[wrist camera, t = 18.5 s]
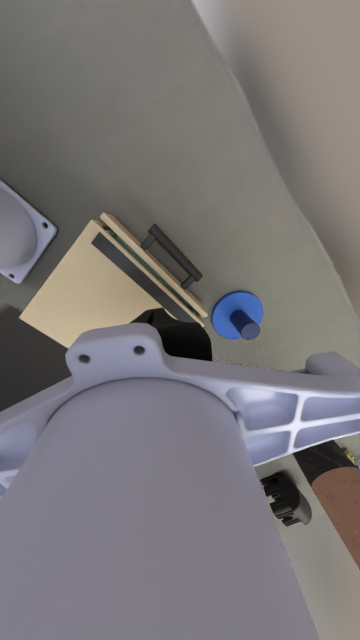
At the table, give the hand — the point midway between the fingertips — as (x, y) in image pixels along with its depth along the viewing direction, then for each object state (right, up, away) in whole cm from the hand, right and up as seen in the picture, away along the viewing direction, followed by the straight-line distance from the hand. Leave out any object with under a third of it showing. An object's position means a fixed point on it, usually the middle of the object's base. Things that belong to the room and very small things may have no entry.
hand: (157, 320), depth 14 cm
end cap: (+27, -41, +32) cm, 58 cm away
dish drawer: (-5, +2, +9) cm, 10 cm away
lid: (+9, +1, +11) cm, 14 cm away
